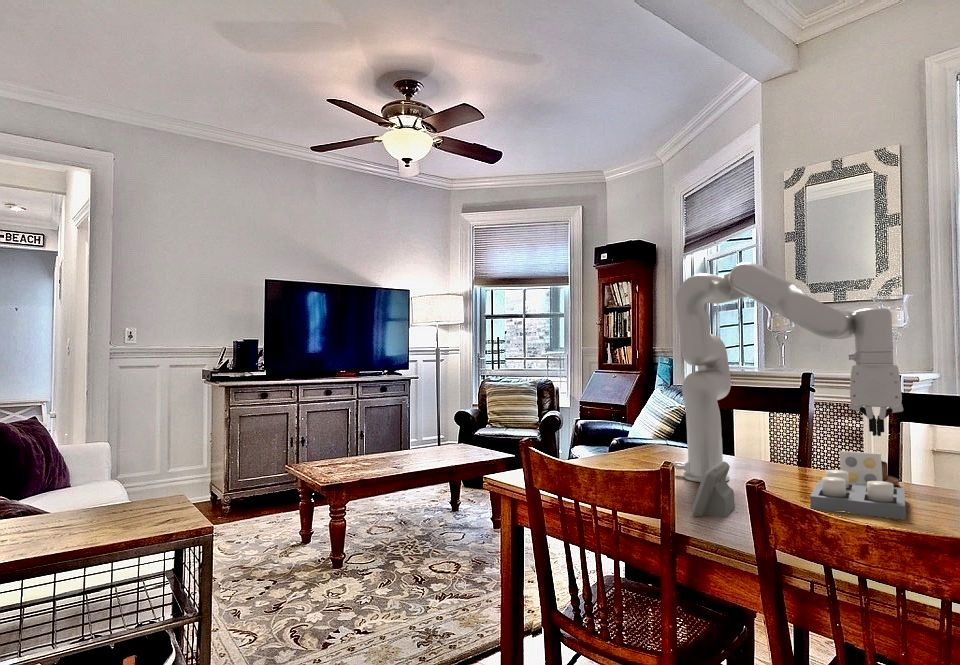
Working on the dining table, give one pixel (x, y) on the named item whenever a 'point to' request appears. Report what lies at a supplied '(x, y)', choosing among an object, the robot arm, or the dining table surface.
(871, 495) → the button
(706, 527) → the dining table surface
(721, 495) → the grey slanted panel stand
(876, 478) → the card
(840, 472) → the button
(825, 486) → the button
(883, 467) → the cup and saucer
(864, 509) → the button board
